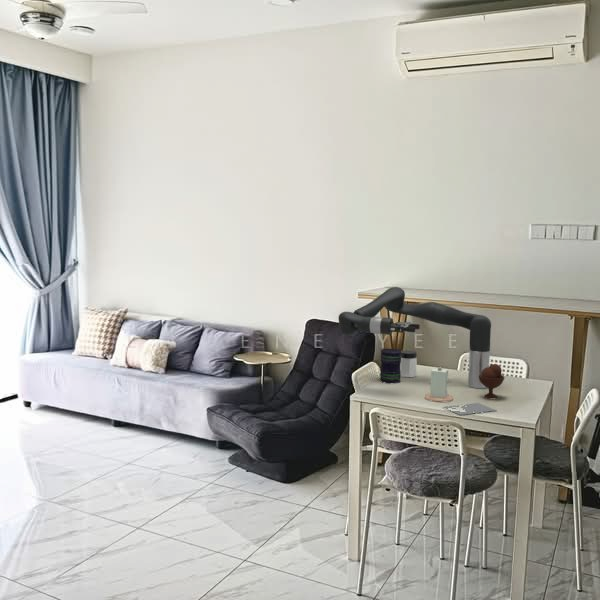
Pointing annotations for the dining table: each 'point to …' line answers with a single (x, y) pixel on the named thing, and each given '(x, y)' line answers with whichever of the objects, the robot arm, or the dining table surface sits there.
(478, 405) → the mat
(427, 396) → the saucer
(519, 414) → the dining table surface
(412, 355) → the jar
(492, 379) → the ice cream bowl
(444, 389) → the tall green carton
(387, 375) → the storage jar
